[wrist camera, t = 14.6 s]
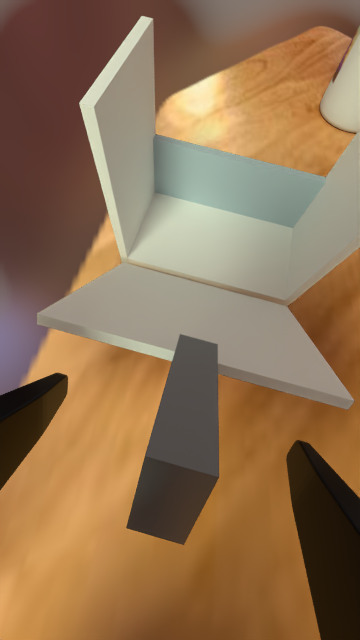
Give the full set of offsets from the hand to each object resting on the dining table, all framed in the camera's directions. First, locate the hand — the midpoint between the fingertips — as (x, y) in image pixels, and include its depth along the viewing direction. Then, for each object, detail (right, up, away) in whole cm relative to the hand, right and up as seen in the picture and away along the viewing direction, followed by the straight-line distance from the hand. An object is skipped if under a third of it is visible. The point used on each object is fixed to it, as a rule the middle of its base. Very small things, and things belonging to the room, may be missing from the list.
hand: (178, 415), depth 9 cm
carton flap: (+2, +6, +10) cm, 11 cm away
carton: (+3, +10, +12) cm, 16 cm away
